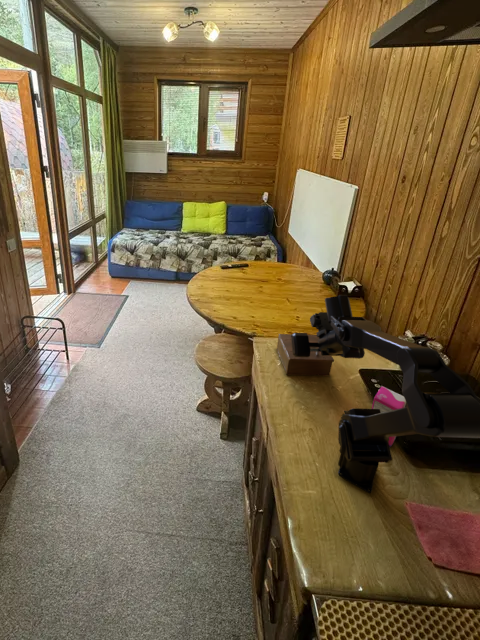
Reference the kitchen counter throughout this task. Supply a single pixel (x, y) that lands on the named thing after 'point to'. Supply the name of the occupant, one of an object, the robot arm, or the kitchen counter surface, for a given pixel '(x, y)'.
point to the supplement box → (388, 403)
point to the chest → (302, 364)
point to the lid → (313, 355)
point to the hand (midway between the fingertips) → (315, 350)
